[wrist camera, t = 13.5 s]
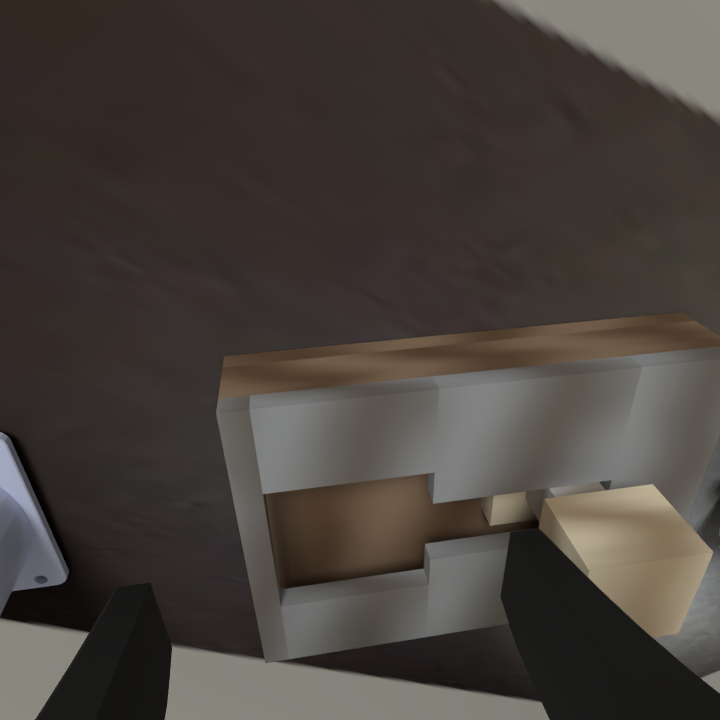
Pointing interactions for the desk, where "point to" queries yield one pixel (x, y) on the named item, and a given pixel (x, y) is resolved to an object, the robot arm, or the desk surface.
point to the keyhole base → (406, 500)
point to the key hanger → (619, 545)
